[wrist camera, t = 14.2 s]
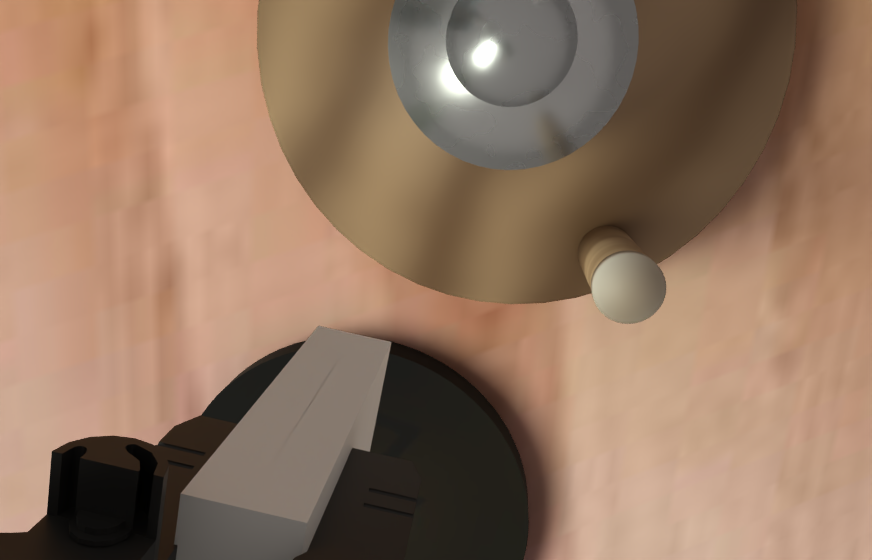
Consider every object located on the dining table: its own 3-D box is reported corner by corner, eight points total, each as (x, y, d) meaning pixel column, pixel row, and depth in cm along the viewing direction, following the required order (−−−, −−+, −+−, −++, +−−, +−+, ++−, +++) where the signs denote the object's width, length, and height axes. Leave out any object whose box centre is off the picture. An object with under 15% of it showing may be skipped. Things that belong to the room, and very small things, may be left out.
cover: (381, 131, 32) (352, 136, 26) (434, -91, 30) (414, -138, 24) (584, 186, 32) (600, 204, 26) (652, -34, 30) (687, -68, 24)
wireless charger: (184, 610, 42) (168, 634, 40) (204, 308, 38) (187, 319, 36) (498, 670, 41) (497, 698, 39) (555, 365, 37) (557, 380, 35)
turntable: (226, 222, 35) (143, 256, 27) (329, -300, 30) (264, -448, 22) (678, 350, 35) (728, 423, 27) (867, -162, 29) (1000, -263, 21)
